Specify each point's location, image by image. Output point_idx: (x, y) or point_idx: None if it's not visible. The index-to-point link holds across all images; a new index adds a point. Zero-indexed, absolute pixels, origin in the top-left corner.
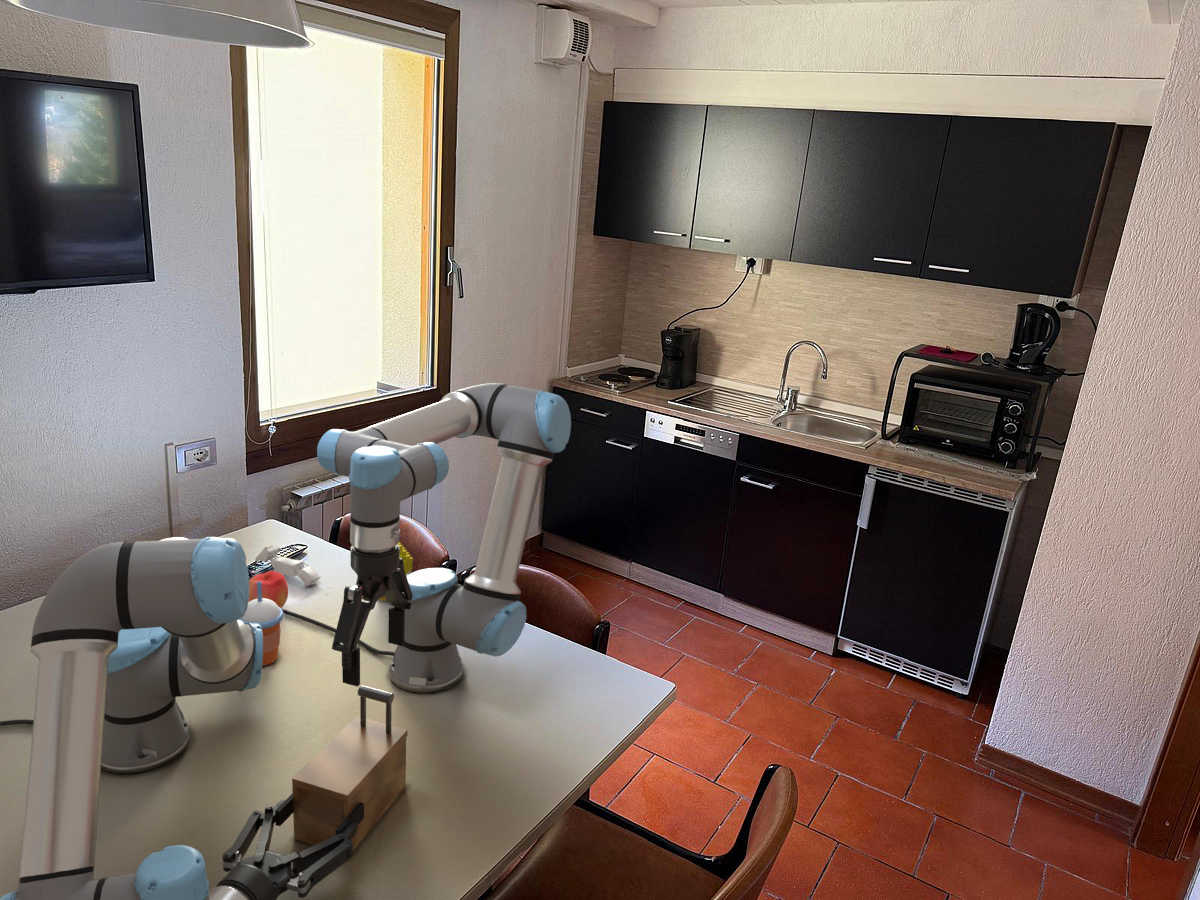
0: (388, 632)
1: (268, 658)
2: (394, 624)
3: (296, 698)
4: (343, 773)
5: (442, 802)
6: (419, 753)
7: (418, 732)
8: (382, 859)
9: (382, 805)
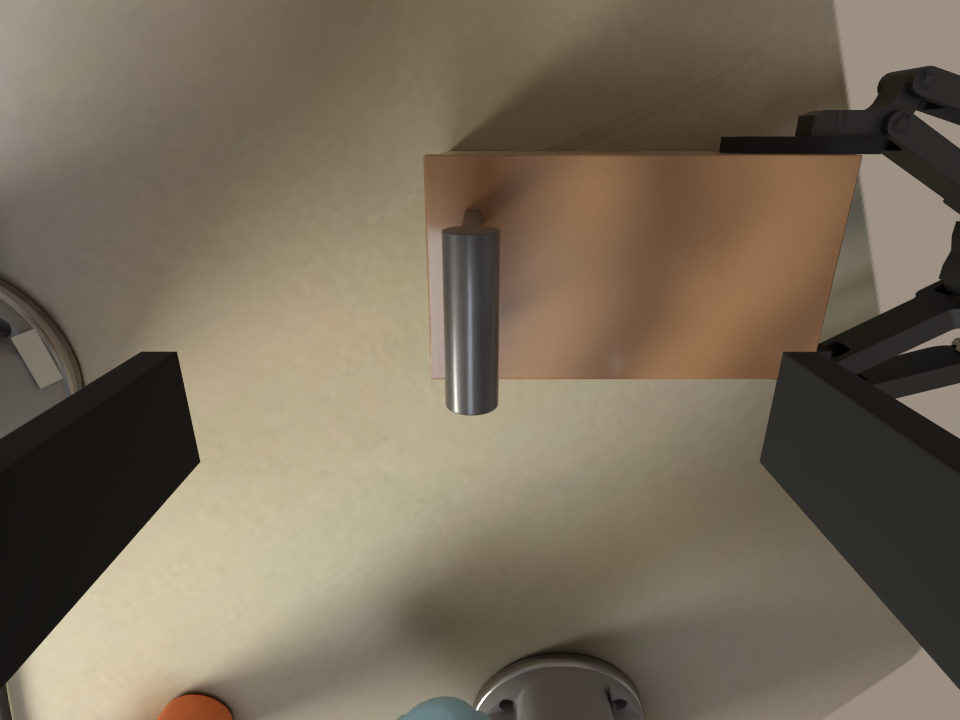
0: (151, 514)
1: (203, 711)
2: (73, 526)
3: (278, 583)
4: (748, 240)
5: (461, 3)
6: (301, 192)
7: (220, 245)
8: (726, 56)
9: (581, 151)
